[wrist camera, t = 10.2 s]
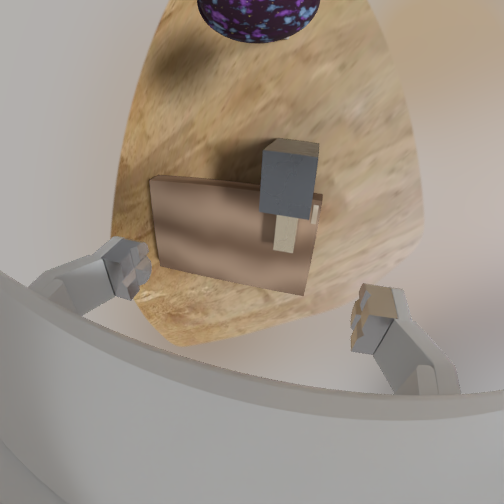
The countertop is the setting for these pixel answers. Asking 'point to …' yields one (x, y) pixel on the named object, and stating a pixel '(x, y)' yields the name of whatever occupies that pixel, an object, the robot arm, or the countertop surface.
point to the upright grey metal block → (288, 186)
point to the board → (228, 233)
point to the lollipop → (257, 18)
